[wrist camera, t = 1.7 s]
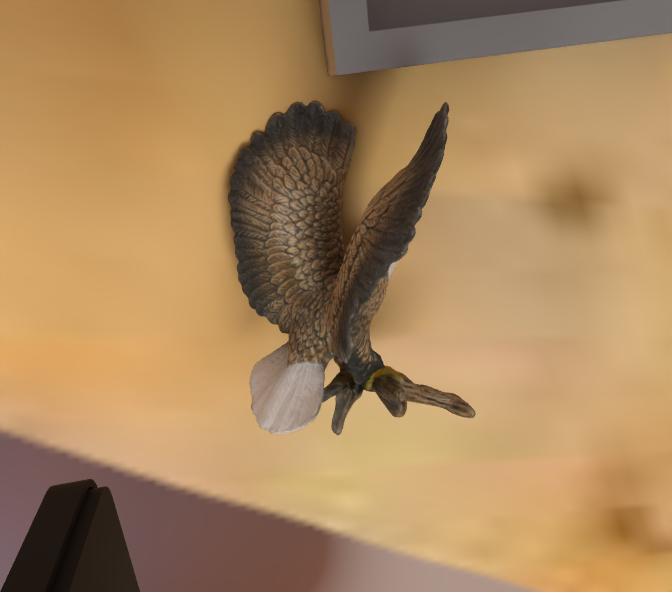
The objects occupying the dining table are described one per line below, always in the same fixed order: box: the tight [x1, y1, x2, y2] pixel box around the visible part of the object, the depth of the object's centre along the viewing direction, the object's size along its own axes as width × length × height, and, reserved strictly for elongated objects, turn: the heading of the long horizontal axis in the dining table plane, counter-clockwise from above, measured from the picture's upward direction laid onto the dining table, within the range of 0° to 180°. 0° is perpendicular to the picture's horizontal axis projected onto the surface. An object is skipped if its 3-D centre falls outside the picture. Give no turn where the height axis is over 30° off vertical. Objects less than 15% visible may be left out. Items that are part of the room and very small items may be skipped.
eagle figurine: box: [228, 101, 475, 435], centre depth 19 cm, size 8×7×9 cm
